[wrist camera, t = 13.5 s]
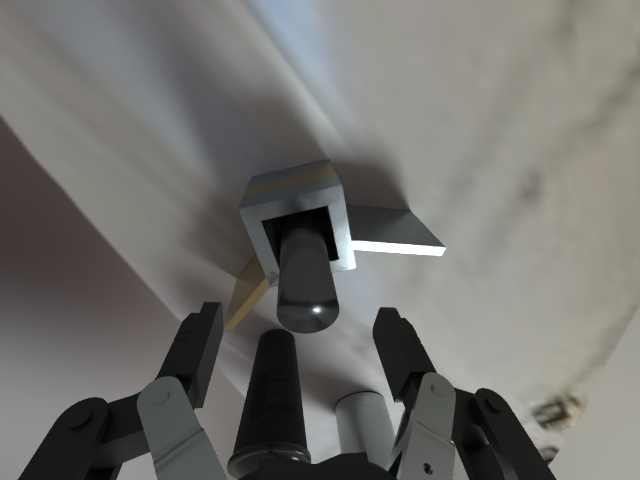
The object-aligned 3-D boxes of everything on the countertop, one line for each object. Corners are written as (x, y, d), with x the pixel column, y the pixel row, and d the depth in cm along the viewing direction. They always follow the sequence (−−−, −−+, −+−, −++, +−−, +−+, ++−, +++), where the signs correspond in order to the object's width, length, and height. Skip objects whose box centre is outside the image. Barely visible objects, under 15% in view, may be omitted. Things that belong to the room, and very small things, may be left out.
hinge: (411, 243, 29) (443, 285, 23) (238, 282, 29) (225, 333, 23) (409, 140, 23) (452, 159, 17) (192, 191, 23) (159, 227, 17)
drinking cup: (242, 353, 36) (197, 596, 19) (258, 316, 32) (220, 573, 15) (293, 362, 38) (294, 587, 21) (313, 328, 35) (334, 565, 17)
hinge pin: (319, 214, 26) (343, 326, 14) (288, 221, 26) (286, 338, 14) (312, 185, 24) (333, 282, 12) (279, 192, 24) (268, 297, 12)
